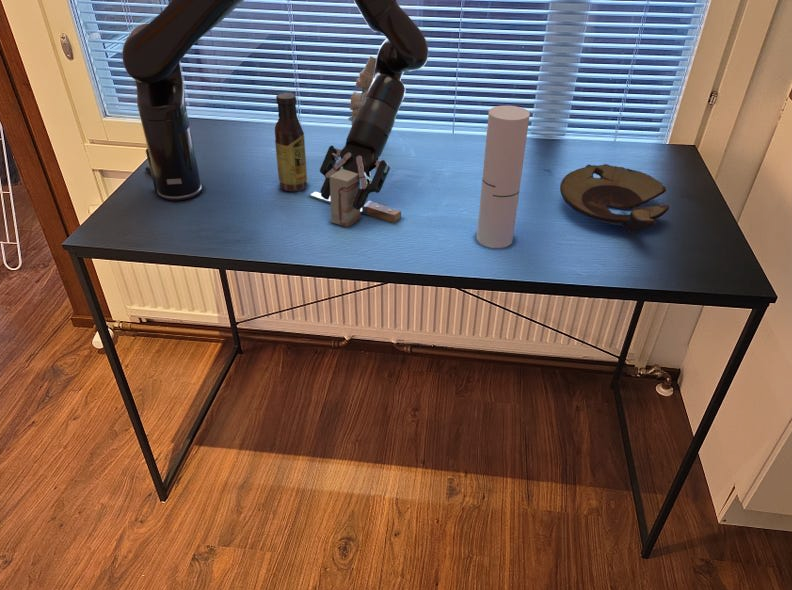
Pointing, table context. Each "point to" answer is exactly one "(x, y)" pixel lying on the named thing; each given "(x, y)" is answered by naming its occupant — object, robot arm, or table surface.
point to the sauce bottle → (290, 145)
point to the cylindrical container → (502, 175)
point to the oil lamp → (613, 195)
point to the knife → (371, 209)
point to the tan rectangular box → (344, 197)
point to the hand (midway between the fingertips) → (340, 203)
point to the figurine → (362, 87)
